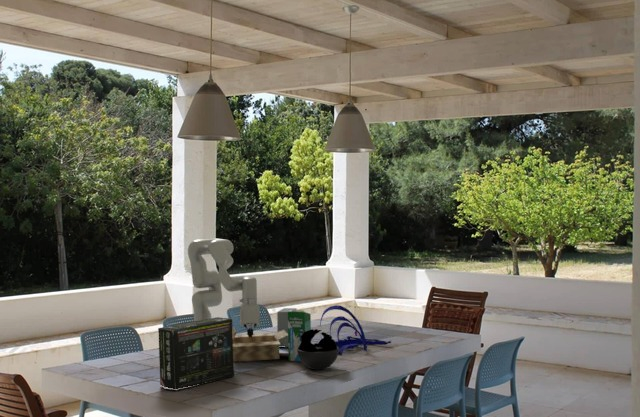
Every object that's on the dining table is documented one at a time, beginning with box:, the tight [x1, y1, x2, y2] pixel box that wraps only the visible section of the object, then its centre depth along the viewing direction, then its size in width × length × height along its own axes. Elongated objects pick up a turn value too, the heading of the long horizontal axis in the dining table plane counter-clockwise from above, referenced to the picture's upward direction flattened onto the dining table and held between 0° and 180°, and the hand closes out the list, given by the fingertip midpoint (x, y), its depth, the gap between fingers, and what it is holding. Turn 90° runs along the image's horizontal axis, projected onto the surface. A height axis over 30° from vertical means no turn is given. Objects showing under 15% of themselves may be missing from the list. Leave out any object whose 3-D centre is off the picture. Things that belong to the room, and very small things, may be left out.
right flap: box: [274, 330, 288, 340], centre depth 390 cm, size 1×17×6 cm
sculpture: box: [319, 305, 392, 356], centre depth 405 cm, size 35×34×26 cm
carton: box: [233, 332, 281, 363], centre depth 387 cm, size 24×32×9 cm
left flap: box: [232, 325, 237, 341], centre depth 385 cm, size 1×17×6 cm, turn 11°
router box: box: [157, 316, 235, 389], centre depth 335 cm, size 36×11×27 cm, turn 140°
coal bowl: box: [297, 328, 340, 371], centre depth 356 cm, size 20×20×19 cm
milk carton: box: [287, 309, 312, 362], centre depth 379 cm, size 9×9×25 cm
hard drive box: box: [276, 307, 298, 347], centre depth 416 cm, size 16×8×20 cm, turn 168°
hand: (250, 336), depth 387 cm, fingers closed
